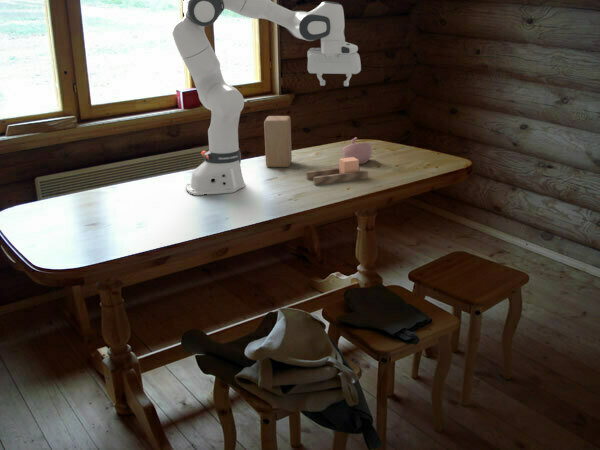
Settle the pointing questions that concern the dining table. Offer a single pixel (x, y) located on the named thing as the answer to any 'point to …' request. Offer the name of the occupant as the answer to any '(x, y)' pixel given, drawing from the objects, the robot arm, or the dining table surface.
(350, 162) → the block
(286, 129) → the wooden block
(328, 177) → the chute
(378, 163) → the dining table surface
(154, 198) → the dining table surface
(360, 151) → the mortar and pestle
